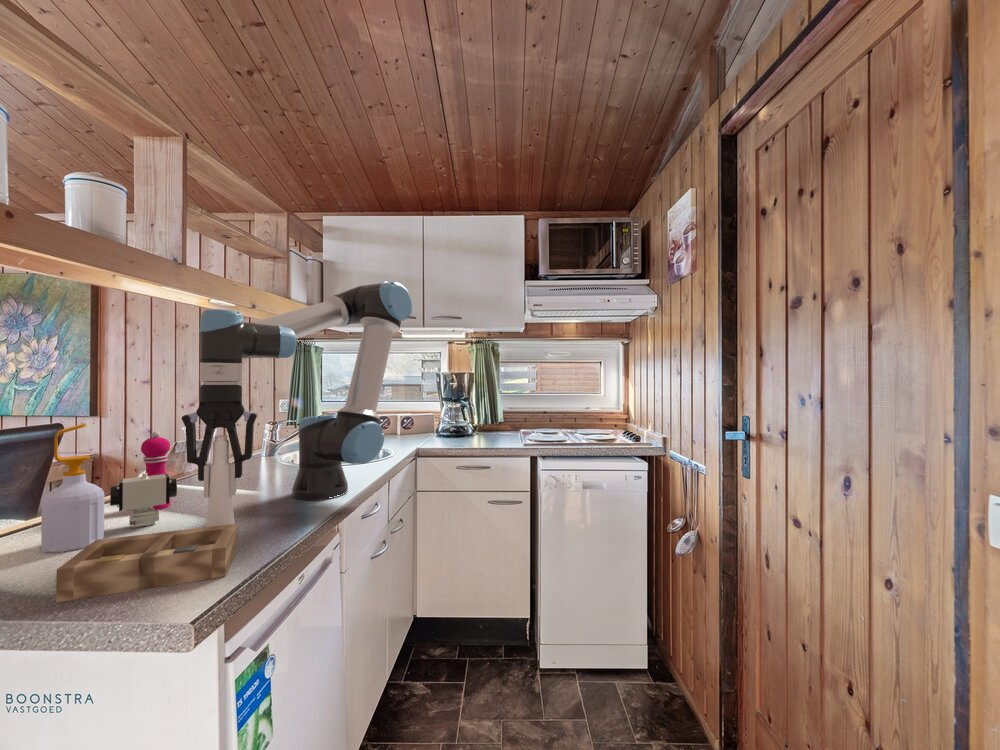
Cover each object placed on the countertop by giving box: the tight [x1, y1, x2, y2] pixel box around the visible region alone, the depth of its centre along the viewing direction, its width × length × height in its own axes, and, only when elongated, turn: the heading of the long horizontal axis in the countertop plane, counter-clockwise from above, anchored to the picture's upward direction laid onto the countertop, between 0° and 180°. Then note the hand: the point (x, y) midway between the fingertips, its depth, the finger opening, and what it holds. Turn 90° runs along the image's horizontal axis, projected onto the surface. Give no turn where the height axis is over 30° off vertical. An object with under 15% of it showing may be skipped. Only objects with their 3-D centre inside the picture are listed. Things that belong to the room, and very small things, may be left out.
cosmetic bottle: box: [205, 434, 236, 527], centre depth 91 cm, size 6×6×22 cm
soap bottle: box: [40, 423, 105, 553], centre depth 88 cm, size 9×9×25 cm
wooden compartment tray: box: [55, 523, 239, 603], centre depth 76 cm, size 22×13×5 cm, turn 114°
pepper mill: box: [139, 430, 171, 511], centre depth 113 cm, size 7×7×20 cm
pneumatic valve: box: [109, 472, 178, 529], centre depth 100 cm, size 6×12×12 cm, turn 131°
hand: (220, 494), depth 91 cm, fingers closed on cosmetic bottle, 4 cm apart
